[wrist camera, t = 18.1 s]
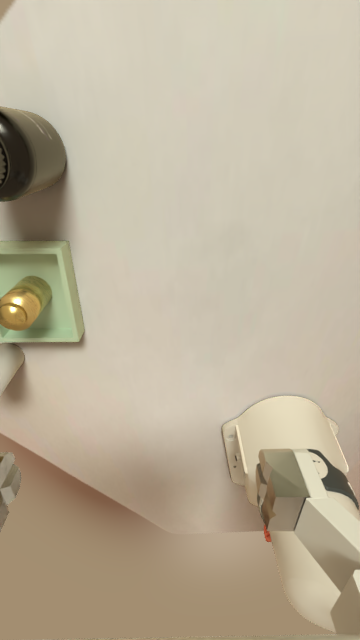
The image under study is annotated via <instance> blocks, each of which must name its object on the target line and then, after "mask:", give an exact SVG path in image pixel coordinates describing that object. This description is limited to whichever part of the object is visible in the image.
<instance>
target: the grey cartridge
mask: <svg viewBox="0 0 360 640" xmlns="http://www.w3.org/2000/svg"><path fill="white" fill-rule="evenodd" d="M24 359H25V355H24V353H23V351H22V350H21V349H20V348H19V347H18V346H16V345H14V344H11V343H1V344H0V396H1V394H2V393H3V391H4V390H5V388H6V387H7V386H8V384H9V383H10V381H11V380H12V378H13V377H14V375H15V374H16V372H17V371H18V369H19V368H20V366H21V365H22V363H23V362H24Z"/></svg>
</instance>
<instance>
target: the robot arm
mask: <svg viewBox="0 0 360 640" xmlns="http://www.w3.org/2000/svg"><path fill="white" fill-rule="evenodd" d="M338 432H339V429H338V426H337V424H336V423H335V422H334V421H332V420H331V419H329V418H327V417H326V416H325V415H324V414H323V412H322V410H321V409H320V408H319V407H318V406H317V405H316V404H315V403H314V402H312V401H310V400H308V399H305V398H302V397H297V396H278V397H272V398H269V399H265V400H263V401H260V402H258V403H256V404H254V405H253V406H251V407H250V408H248V409H247V410H246V411H245V412H244V413H243V414H242V415H241V416H239V417H238V418H236V419H234V420H232V421H229V422H227V423H226V424H224V425H223V426H222V433H223V438H224V444H225V449H226V454H227V459H228V465H229V470H230V475H231V479H232V482H234V483H236V484H238V485H241V486H245V488H246V493H247V498H248V501H249V502H250V503H251V504H252V505H254V506H256V507H259V511H260V515H261V517H262V519H263V521H264V523H265V525H264V534H265V538H266V541H267V542H271V541H272V545H273V549H274V554H275V557H276V562H277V566H278V570H279V574H280V579H281V583H282V587H283V590H284V592H285V594H286V596H287V598H288V600H289V601H290V603H291V604H292V606H293V607H294V608H295V609H296V610H297V611H298V613H300V614H301V615H302V616H303V617H304V618H306V619H307V620H309V621H310V622H312V623H314V624H316V625H318V626H320V627H322V628H325V629H327V630H329V631H332V632H335V633H336V634H337V635H283V636H230V637H229V636H228V637H227V636H225V637H173V638H172V637H167V638H117V639H116V638H115V639H114V638H111V639H57V640H360V513H359V511H358V509H359V505H358V502H357V499H356V497H355V493H354V491H353V489H352V486H351V485H350V484H349V482H348V480H347V478H346V474H347V472H348V465H347V463H346V460H345V458H344V455H343V453H342V451H341V448H340V446H339V443H338V441H337V439H336V435H337V433H338ZM14 460H15V458H14V456H13V453H8V452H5V453H4V452H0V531H1V529H2V527H3V525H4V522H5V520H6V518H7V515H8V513H9V510H8V506H7V505H8V504H9V503H10V502H11V501H13V500H14V499H15V498H16V495H17V493H18V490H19V487H20V482H21V472H20V470H19V468H18V467H17V466H16V465H14V464H13V462H14ZM54 640H55V639H54Z"/></svg>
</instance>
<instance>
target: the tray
mask: <svg viewBox="0 0 360 640" xmlns="http://www.w3.org/2000/svg"><path fill="white" fill-rule="evenodd" d="M26 276H37V277H40V278H42V279H44V280H45V281H46V282H47V283H48V284H49V286H50V287H51V290H52V297H51V300H50V301H49V302H48V304H47V305H46V306H45V308H44V309H43V310H42V312H41V313H40V314H39V315H38V317H37V318H36V319H35V321H34V322H33V323H32V325H31V326H30V327H29V328H27V329H25V330H22V331H15V330H10V329H7V328H5V327H3V326H2V325H1V324H0V342H79V341H80V339H81V337H82V335H83V332H84V330H85V329H84V324H83V318H82V312H81V307H80V301H79V296H78V290H77V285H76V279H75V274H74V268H73V262H72V257H71V251H70V246H69V241H0V299H1V298H2V297H3V296H4V295H5V294H6V293H7V292H8V291H9V290H10V289H12V288H13V287H14V286H15V285H16V284H17V283H18V282H19V281H20V280H21V279H22V278H24V277H26Z"/></svg>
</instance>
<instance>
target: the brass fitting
mask: <svg viewBox="0 0 360 640" xmlns="http://www.w3.org/2000/svg"><path fill="white" fill-rule="evenodd" d="M51 297H52V290H51V287H50V286H49V284H48V283H47V282H46V281H45V280H44V279H42V278H40V277H37V276H26V277H24V278H22V279H21V280H20V281H19V282H18V283H17V284H16V285H15V286H14V287H13V288H12V289H10V290H9V291H8V292H7V293H6V294H5V295H4V296H3V297H2V298H1V299H0V324H1V325H2V326H3V327H5V328H7V329H10V330H15V331H22V330H25V329H27V328H29V327H30V326H31V325H32V323H33V322H34V321H35V319H36V318H37V317H38V315H39V314H40V313H41V312H42V310H43V309H44V308H45V306H46V305H47V304H48V302H49V301H50V300H51Z"/></svg>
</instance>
